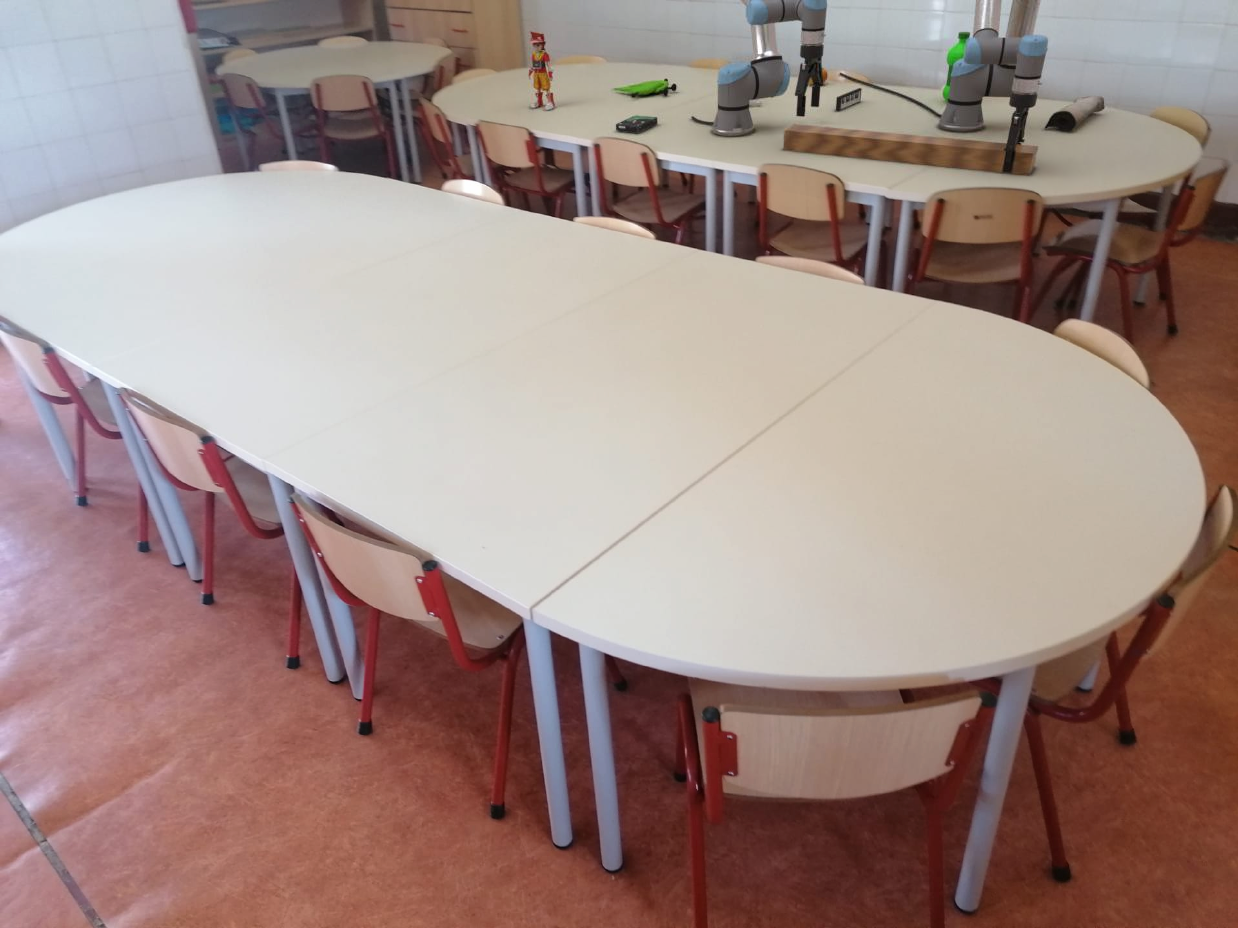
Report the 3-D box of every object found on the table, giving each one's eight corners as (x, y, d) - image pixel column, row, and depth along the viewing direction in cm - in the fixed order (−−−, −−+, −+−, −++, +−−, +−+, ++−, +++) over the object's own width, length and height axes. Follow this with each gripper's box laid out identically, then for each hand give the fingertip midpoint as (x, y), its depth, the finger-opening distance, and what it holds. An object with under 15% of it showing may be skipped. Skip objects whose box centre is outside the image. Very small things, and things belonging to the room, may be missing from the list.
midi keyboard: (838, 111, 353) (839, 97, 350) (835, 110, 353) (836, 97, 350) (860, 101, 363) (861, 88, 360) (857, 101, 364) (859, 88, 361)
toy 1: (525, 109, 381) (517, 32, 364) (534, 104, 388) (527, 28, 371) (550, 110, 377) (543, 32, 360) (559, 105, 384) (553, 28, 367)
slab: (783, 150, 314) (784, 130, 310) (792, 143, 320) (793, 124, 316) (1028, 175, 278) (1033, 153, 274) (1033, 167, 284) (1038, 146, 280)
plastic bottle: (973, 101, 354) (984, 32, 339) (955, 106, 349) (966, 36, 335) (952, 97, 361) (962, 29, 346) (934, 102, 356) (944, 33, 342)
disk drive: (638, 134, 340) (658, 124, 350) (638, 126, 338) (657, 116, 349) (615, 131, 345) (635, 121, 355) (615, 124, 343) (635, 114, 353)
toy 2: (686, 85, 398) (631, 84, 414) (685, 72, 395) (629, 72, 411) (651, 104, 381) (596, 103, 397) (650, 92, 378) (594, 91, 394)
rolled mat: (1071, 101, 334) (1096, 83, 326) (1085, 121, 335) (1110, 105, 327) (1040, 123, 317) (1065, 105, 309) (1054, 144, 318) (1080, 127, 309)
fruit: (802, 77, 388) (813, 60, 385) (805, 81, 396) (816, 64, 392) (818, 88, 386) (829, 71, 383) (820, 91, 394) (832, 74, 391)
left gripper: (809, 52, 284) (805, 121, 296) (836, 37, 302) (830, 103, 314) (787, 51, 288) (783, 119, 300) (814, 36, 305) (810, 102, 317)
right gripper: (1031, 101, 261) (1015, 179, 274) (1044, 85, 276) (1028, 159, 289) (1004, 99, 265) (990, 176, 278) (1018, 84, 280) (1004, 157, 292)
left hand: (807, 111), depth 307 cm, fingers open, 13 cm apart
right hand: (1009, 167), depth 283 cm, fingers closed on slab, 8 cm apart
